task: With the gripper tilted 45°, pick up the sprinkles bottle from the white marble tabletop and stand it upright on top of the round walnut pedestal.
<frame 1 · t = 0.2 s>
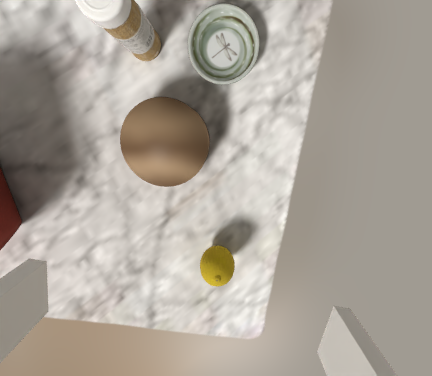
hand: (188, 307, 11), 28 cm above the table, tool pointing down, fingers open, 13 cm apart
lemon: (217, 251, 41), on the table
sprinkles bottle: (146, 45, 33), on the table
walnut pedestal: (171, 141, 36), on the table
saucer: (223, 51, 33), on the table
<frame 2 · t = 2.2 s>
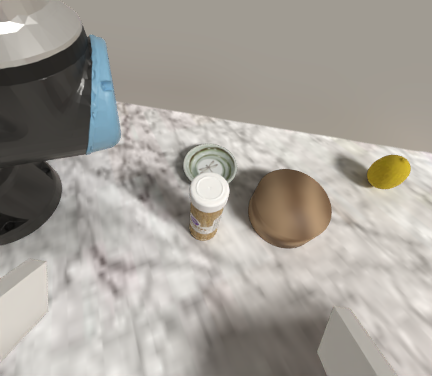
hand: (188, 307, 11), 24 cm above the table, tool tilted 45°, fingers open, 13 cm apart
lemon: (371, 184, 45), on the table
sprinkles bottle: (203, 228, 37), on the table
walnut pedestal: (282, 213, 40), on the table
saucer: (209, 172, 43), on the table
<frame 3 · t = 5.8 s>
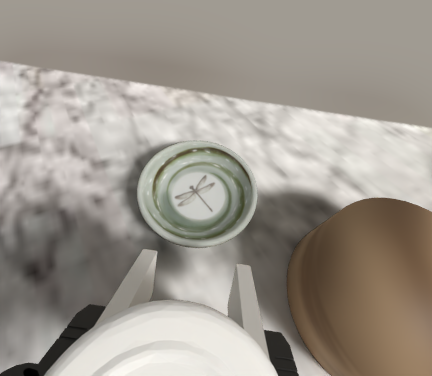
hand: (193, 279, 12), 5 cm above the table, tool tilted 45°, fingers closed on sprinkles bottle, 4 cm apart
sprinkles bottle: (181, 351, 15), on the table, touching gripper
walnut pedestal: (363, 297, 17), on the table
saucer: (198, 200, 21), on the table
when the fingers open (11 cm above the table, at t = 11.8 s): sprinkles bottle drops 1 cm, resting on walnut pedestal.
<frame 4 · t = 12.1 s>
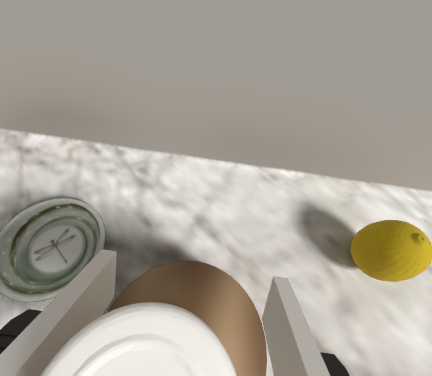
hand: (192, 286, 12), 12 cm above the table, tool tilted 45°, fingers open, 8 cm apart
lemon: (359, 259, 26), on the table
sprinkles bottle: (175, 348, 16), point 5 cm above the table, touching walnut pedestal
walnut pedestal: (184, 341, 20), on the table
saucer: (62, 250, 23), on the table
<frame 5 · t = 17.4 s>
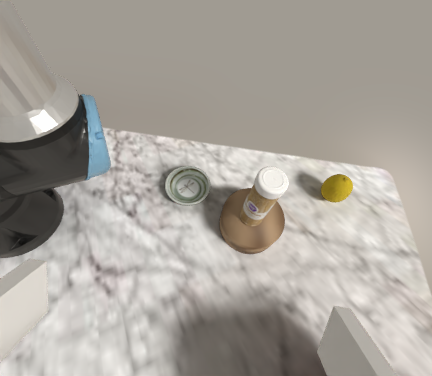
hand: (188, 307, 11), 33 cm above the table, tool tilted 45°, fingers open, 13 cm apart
lemon: (326, 197, 53), on the table
sprinkles bottle: (250, 216, 44), point 5 cm above the table, touching walnut pedestal
walnut pedestal: (247, 225, 48), on the table
saucer: (188, 190, 51), on the table
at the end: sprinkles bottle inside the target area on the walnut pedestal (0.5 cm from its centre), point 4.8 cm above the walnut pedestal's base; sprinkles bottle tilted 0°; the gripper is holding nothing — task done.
